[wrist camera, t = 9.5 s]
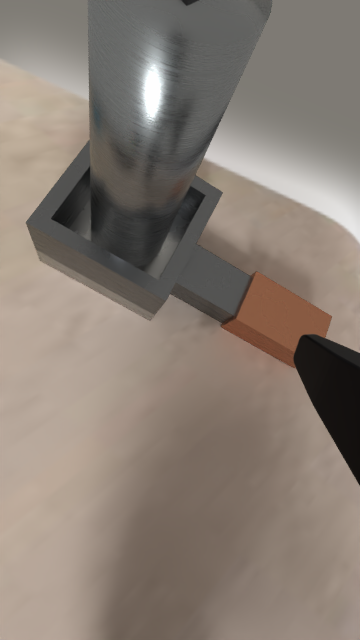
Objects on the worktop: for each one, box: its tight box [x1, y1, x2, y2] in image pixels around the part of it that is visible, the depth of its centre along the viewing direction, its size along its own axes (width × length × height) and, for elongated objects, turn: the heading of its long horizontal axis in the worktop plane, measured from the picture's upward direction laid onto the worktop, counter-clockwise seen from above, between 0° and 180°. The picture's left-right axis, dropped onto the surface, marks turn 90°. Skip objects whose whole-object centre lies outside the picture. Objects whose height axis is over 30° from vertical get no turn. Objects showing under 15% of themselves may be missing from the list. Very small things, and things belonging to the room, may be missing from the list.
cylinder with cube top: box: [88, 0, 272, 267], centre depth 13 cm, size 4×4×14 cm
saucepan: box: [26, 140, 332, 368], centre depth 20 cm, size 8×18×4 cm, turn 64°
